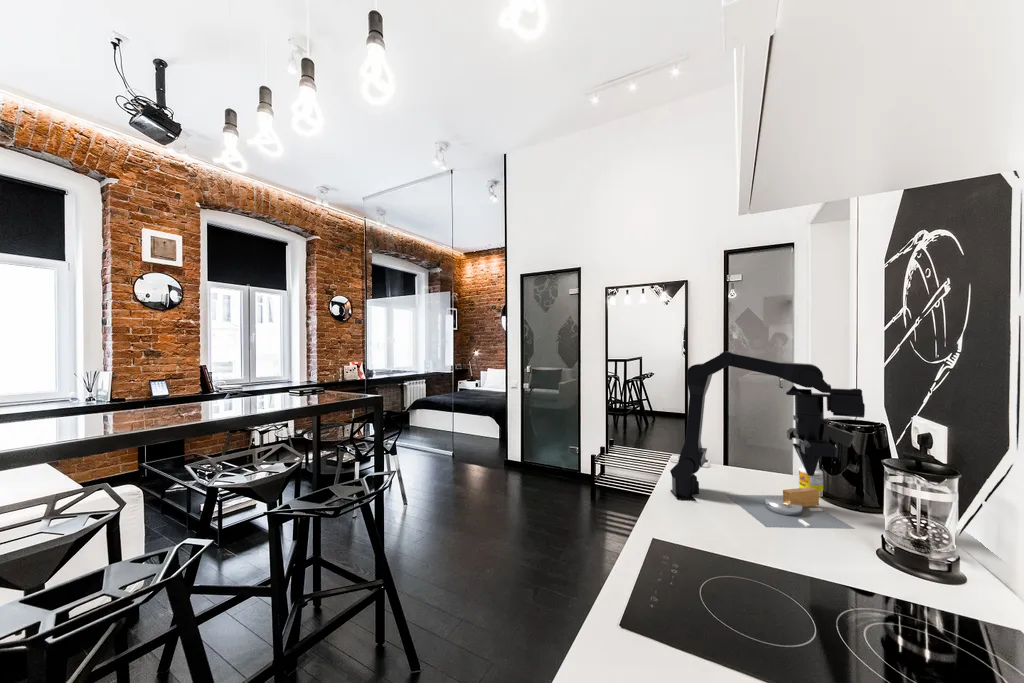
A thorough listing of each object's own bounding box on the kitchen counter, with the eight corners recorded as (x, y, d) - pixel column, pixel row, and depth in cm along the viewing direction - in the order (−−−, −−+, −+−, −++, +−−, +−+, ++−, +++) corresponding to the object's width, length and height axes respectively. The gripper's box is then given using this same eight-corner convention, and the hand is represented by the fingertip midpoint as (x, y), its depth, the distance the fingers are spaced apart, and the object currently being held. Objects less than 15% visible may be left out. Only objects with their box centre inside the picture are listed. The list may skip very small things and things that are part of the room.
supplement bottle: (797, 492, 115) (795, 458, 115) (819, 495, 113) (818, 460, 113) (803, 499, 110) (802, 464, 110) (827, 502, 108) (825, 466, 108)
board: (766, 532, 91) (766, 525, 91) (726, 499, 111) (725, 493, 111) (855, 533, 90) (854, 526, 90) (798, 499, 110) (797, 494, 110)
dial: (783, 517, 96) (783, 498, 96) (758, 504, 104) (757, 487, 104) (830, 512, 98) (829, 493, 98) (801, 500, 106) (801, 483, 106)
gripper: (866, 422, 85) (867, 493, 84) (836, 409, 102) (837, 468, 101) (804, 419, 89) (806, 486, 89) (785, 407, 106) (786, 463, 106)
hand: (810, 475), depth 96 cm, fingers closed
